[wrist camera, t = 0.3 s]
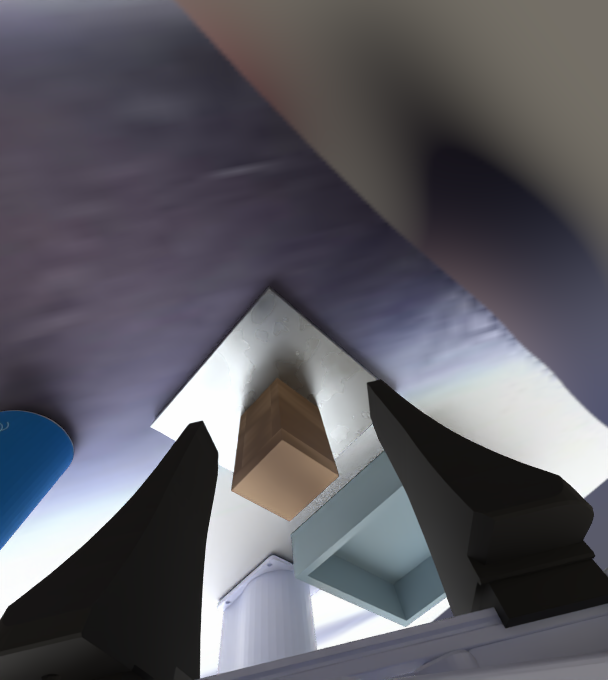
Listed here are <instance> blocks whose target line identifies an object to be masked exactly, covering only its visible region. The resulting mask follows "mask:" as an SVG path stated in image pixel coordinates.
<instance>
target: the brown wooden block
mask: <svg viewBox="0 0 608 680" xmlns="http://www.w3.org/2000/svg"><path fill="white" fill-rule="evenodd" d="M338 477H339V474H338V471H337V467H336V464H335V461H334V457H333V454H332V451H331V447H330V444H329V441H328V437H327V434H326V431H325V427H324V424H323V421H322V417H321V414H320V411H319V408H318V407H317V406H315V405H314V404H313V403H311V402H310V401H309V400H307V399H306V398H304V397H303V396H302V395H300V394H299V393H297V392H296V391H295V390H293V389H292V388H291V387H289V386H288V385H286V384H285V383H284V382H282V381H281V380H280V379H278V378H276V379H275V380H274V381H273V383H272V384H271V385H270V386H269V387H268V388H267V389H266V390H265V391H264V392H263V393H262V394H261V395H260V396H259V398H258V399H257V400H256V401H255V402H254V403H253V404H252V405H251V406H250V407H249V408H248V409H247V410H246V411H245V412H244V414H243V415H242V416H241V417H240V425H239V433H238V441H237V449H236V457H235V465H234V473H233V481H232V489H231V491H232V492H234V493H236V494H238V495H240V496H242V497H244V498H246V499H248V500H250V501H252V502H253V503H255V504H257V505H259V506H261V507H263V508H265V509H267V510H269V511H271V512H273V513H274V514H276V515H278V516H280V517H282V518H284V519H286V520H288V521H291V520H292V519H293V518H294V517H295V516H296V515H297V514H298V513H299V512H301V511H302V510H303V509H304V508H305V507H306V506H307V505H308V504H309V503H310V502H311V501H313V500H314V499H315V498H316V497H317V496H318V495H319V494H320V493H321V492H322V491H323V490H325V489H326V488H327V487H328V486H329V485H330V484H331V483H332V482H333V481H334V480H335V479H337V478H338Z"/></svg>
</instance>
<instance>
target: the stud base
mask: <svg viewBox="0 0 608 680" xmlns="http://www.w3.org/2000/svg"><path fill="white" fill-rule="evenodd" d="M276 378H278V379H280V380H281V381H282V382H284V383H285V384H286V385H288V386H289V387H291V388H292V389H293V390H295V391H296V392H297V393H299V394H300V395H302V396H303V397H304V398H306V399H307V400H309V401H310V402H311V403H313V404H314V405H315V406H317V407H318V408H319V411H320V414H321V417H322V421H323V424H324V427H325V431H326V434H327V437H328V441H329V444H330V447H331V451H332V454H333V457H334V459H336V458H337V457H338V456H339V455H340V454H341V453H342V452H343V451H344V450H345V449H346V448H347V447H348V446H349V445H351V444H352V443H353V442H354V441H355V440H356V439H357V438H358V437H359V436H360V435H361V434H362V433H363V432H364V431H365V430H367V429H368V428H369V427H370V426H371V425H372V424H373V423H372V420H371V418H370V409H369V400H368V391H367V382H371V381H376V380H379V379H378V378H377V377H376V376H374V375H373V374H372V373H371V372H370V371H369V370H367V369H366V368H365V367H364V366H363V365H361V364H360V363H359V362H358V361H357V360H356V359H354V358H353V357H352V356H351V355H350V354H349V353H347V352H346V351H345V350H344V349H343V348H341V347H340V346H339V345H338V344H337V343H336V342H334V341H333V340H332V339H331V338H330V337H328V336H327V335H326V334H325V333H324V332H323V331H321V330H320V329H319V328H318V327H317V326H316V325H314V324H313V323H312V322H311V321H310V320H308V319H307V318H306V317H305V316H304V315H303V314H301V313H300V312H299V311H298V310H297V309H296V308H294V307H293V306H292V305H291V304H290V303H288V302H287V301H286V300H285V299H284V298H283V297H281V296H280V295H279V294H278V293H277V292H276V291H274V290H273V289H272V288H271V287H270V286H268V287H267V289H266V290H265V291H264V292H263V293H262V294H261V296H260V297H259V298H258V299H257V300H256V301H255V303H254V304H253V305H252V306H251V307H250V308H249V310H248V311H247V312H246V313H245V314H244V315H243V317H242V318H241V319H240V320H239V321H238V322H237V324H236V325H235V326H234V327H233V328H232V329H231V331H230V332H229V333H228V334H227V335H226V336H225V338H224V339H223V340H222V341H221V342H220V343H219V345H218V346H217V347H216V348H215V349H214V350H213V352H212V353H211V354H210V355H209V356H208V358H207V359H206V360H205V361H204V362H203V363H202V365H201V366H200V367H199V368H198V369H197V370H196V372H195V373H194V374H193V375H192V376H191V377H190V379H189V380H188V381H187V382H186V383H185V384H184V386H183V387H182V388H181V389H180V390H179V391H178V393H177V394H176V395H175V396H174V397H173V398H172V400H171V401H170V402H169V403H168V404H167V405H166V407H165V408H164V409H163V410H162V411H161V412H160V414H159V415H158V416H157V417H156V418H155V420H154V421H153V423H152V425H151V427H152V428H154V429H155V430H157V431H159V432H161V433H163V434H164V435H166V436H168V437H170V438H172V439H173V440H175V441H176V440H177V439H178V437H179V436H180V435H181V433H182V432H183V431H184V429H185V428H186V427H187V425H188V424H189V423H193V422H197V421H202V420H203V421H204V424H205V426H206V428H207V430H208V432H209V434H210V436H211V438H212V440H213V442H214V444H215V446H216V448H217V450H218V452H219V456H218V464H219V465H221V466H223V467H224V468H226V469H228V470H230V471H232V472H233V473H234V465H235V457H236V449H237V441H238V433H239V425H240V417H241V416H242V415H243V414H244V412H245V411H246V410H247V409H248V408H249V407H250V406H251V405H252V404H253V403H254V402H255V401H256V400H257V399H258V398H259V396H260V395H261V394H262V393H263V392H264V391H265V390H266V389H267V388H268V387H269V386H270V385H271V384H272V383H273V381H274V380H275V379H276Z"/></svg>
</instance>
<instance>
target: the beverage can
mask: <svg viewBox="0 0 608 680" xmlns="http://www.w3.org/2000/svg"><path fill="white" fill-rule="evenodd" d="M73 455H74V448H73V444H72V441H71V439H70V437H69V436H68V434H67V433H66V432H65V430H64V429H63V428H62V427H61V426H60V425H58V424H57V423H56V422H54V421H53V420H51V419H49V418H47V417H45V416H42V415H39V414H36V413H33V412H28V411H21V410H9V411H2V412H0V550H1V549H2V547H3V546H4V545H5V544H6V543H7V541H8V540H9V539H10V538H11V536H12V535H13V534H14V533H15V532H16V530H17V529H18V528H19V527H20V525H21V524H22V523H23V522H24V521H25V519H26V518H27V517H28V516H29V514H30V513H31V512H32V511H33V510H34V508H35V507H36V506H37V505H38V503H39V502H40V501H41V500H42V498H43V497H44V496H45V495H46V494H47V492H48V491H49V490H50V489H51V487H52V486H53V485H54V484H55V483H56V481H57V480H58V479H59V478H60V476H61V475H62V474H63V473H64V472H65V470H66V469H67V468H68V467H69V465H70V464H71V462H72V459H73Z"/></svg>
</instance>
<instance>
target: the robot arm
mask: <svg viewBox="0 0 608 680" xmlns="http://www.w3.org/2000/svg"><path fill="white" fill-rule="evenodd" d="M367 391H368V400H369V409H370V418H371V420H372V423H373V426H374V428H375V431H376V434H377V436H378V439H379V441H380V443H381V445H382V447H383V449H384V450H385V452H386V454H387V456H388V458H389V460H390V462H391V464H392V466H393V468H394V470H395V472H396V474H397V475H398V477H399V479H400V481H401V483H402V485H403V487H404V489H405V491H406V494H407V496H408V498H409V501H410V503H411V506H412V508H413V510H414V513H415V515H416V518H417V520H418V523H419V525H420V528H421V530H422V533H423V535H424V538H425V541H426V543H427V546H428V548H429V551H430V553H431V556H432V559H433V561H434V564H435V567H436V569H437V572H438V575H439V577H440V580H441V583H442V585H443V588H444V591H445V594H446V596H447V599H448V602H449V605H450V607H451V610H452V612H453V616H454V617H451V618H448V619H443V620H439V621H435V622H431V623H426V624H422V625H418V626H414V627H410V628H406V629H402V630H398V631H394V632H390V633H385V634H381V635H377V636H373V637H369V638H365V639H361V640H357V641H353V642H348V643H344V644H340V645H336V646H332V647H328V648H324V649H320V650H317V644H316V636H315V628H314V620H313V612H312V604H311V596H312V595H313V594H314V593H316V592H317V591H318V590H319V588H317V587H314V586H312V585H310V584H307V583H305V582H303V581H301V580H298V579H296V578H295V573H294V564H292V563H290V562H288V561H286V560H284V559H282V558H279V557H277V556H275V555H272V556H270V557H268V558H267V559H266V560H265V561H264V562H263V563H262V564H261V565H260V566H258V567H257V568H256V569H255V570H254V571H253V572H252V573H251V574H250V575H248V576H247V577H246V578H245V579H244V580H243V581H242V582H241V583H240V584H238V585H237V586H236V587H235V588H234V589H233V590H232V591H231V592H230V593H228V594H227V595H226V596H225V597H224V598H223V599H222V600H221V601H220V602H219V603H218V606H217V608H218V609H219V610H221V611H224V614H223V624H222V633H221V643H220V652H219V662H218V671H217V675H213V676H209V677H205V678H201V679H200V633H201V608H202V589H203V573H204V561H205V549H206V540H207V532H208V527H209V521H210V516H211V510H212V505H213V499H214V494H215V488H216V482H217V476H218V456H219V452H218V450H217V448H216V446H215V444H214V442H213V440H212V438H211V436H210V434H209V432H208V430H207V428H206V426H205V424H204V421H203V420H202V421H197V422H193V423H189V424H188V425H187V427H186V428H185V429H184V431H183V432H182V433H181V435H180V436H179V437H178V439H177V440H176V442H175V443H174V444H173V446H172V447H171V449H170V450H169V451H168V453H167V454H166V455H165V457H164V458H163V459H162V461H161V462H160V463H159V465H158V466H157V467H156V468H155V470H154V471H153V472H152V473H151V475H150V476H149V477H148V478H147V479H146V481H145V482H144V483H143V484H142V486H141V487H140V488H139V489H138V490H137V492H136V493H135V494H134V495H133V496H132V497H131V498H130V499H129V501H128V502H127V503H126V504H125V505H124V506H123V507H122V508H121V509H120V510H119V511H118V512H117V513H116V514H115V515H114V516H113V517H112V518H111V519H110V520H109V521H108V522H107V523H106V524H105V525H104V526H103V527H102V528H101V529H100V530H99V531H98V532H97V533H96V534H95V535H94V536H93V537H92V538H91V539H90V540H89V541H88V542H86V543H85V544H84V545H83V546H82V547H81V548H80V549H79V550H78V551H76V552H75V553H74V554H73V555H72V556H71V557H70V558H68V559H67V560H66V561H65V562H64V563H63V564H61V565H60V566H59V567H58V568H57V569H55V570H54V571H53V572H52V573H51V574H49V575H48V576H47V577H46V578H44V579H43V580H42V581H41V582H39V583H38V584H37V585H35V586H34V587H33V588H32V589H30V590H29V591H28V592H27V593H25V594H24V595H23V596H21V597H20V598H19V599H18V600H16V601H15V602H14V603H12V604H11V605H10V606H8V608H7V609H6V611H5V613H4V614H3V616H2V618H1V619H0V680H384V679H388V678H392V677H396V676H400V675H404V674H408V673H412V672H415V676H411V677H403V678H395V679H388V680H608V568H606V569H605V570H604V571H602V570H601V569H600V567H599V566H598V565H597V564H596V563H595V562H594V560H593V559H592V558H594V557H595V555H594V552H593V551H592V550H591V549H590V548H589V546H588V545H587V544H586V543H585V542H584V541H583V539H584V537H585V535H586V533H587V532H588V530H589V528H590V526H591V524H592V521H593V517H594V512H593V508H592V506H591V505H589V503H587V502H586V501H585V500H584V499H583V498H582V497H581V495H580V494H579V493H578V492H577V491H576V490H575V489H574V488H573V487H571V486H570V485H569V484H568V483H567V482H566V481H565V480H563V479H562V478H561V477H560V476H559V475H556V474H553V473H550V472H547V471H544V470H541V469H538V468H535V467H532V466H529V465H527V464H524V463H521V462H518V461H516V460H513V459H511V458H508V457H506V456H503V455H501V454H498V453H496V452H494V451H491V450H489V449H487V448H485V447H483V446H481V445H478V444H476V443H474V442H472V441H470V440H468V439H466V438H464V437H462V436H460V435H458V434H457V433H455V432H453V431H451V430H449V429H448V428H446V427H444V426H443V425H441V424H439V423H438V422H436V421H435V420H433V419H432V418H430V417H429V416H427V415H426V414H424V413H423V412H421V411H420V410H419V409H417V408H416V407H415V406H413V405H412V404H411V403H409V402H408V401H407V400H405V399H404V398H403V397H401V396H400V395H399V394H398V393H397V392H395V391H394V390H393V389H392V388H391V387H389V386H388V385H387V384H386V383H385V382H384V381H382V380H381V379H380V380H376V381H371V382H367Z"/></svg>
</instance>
